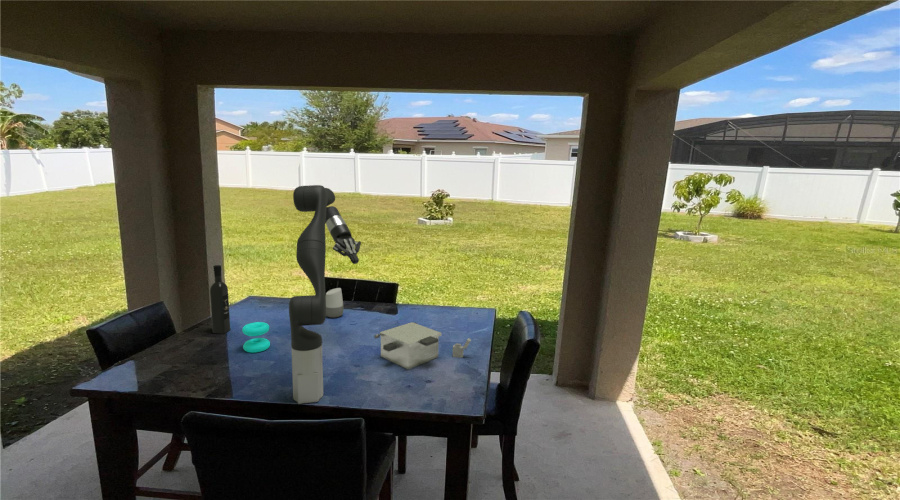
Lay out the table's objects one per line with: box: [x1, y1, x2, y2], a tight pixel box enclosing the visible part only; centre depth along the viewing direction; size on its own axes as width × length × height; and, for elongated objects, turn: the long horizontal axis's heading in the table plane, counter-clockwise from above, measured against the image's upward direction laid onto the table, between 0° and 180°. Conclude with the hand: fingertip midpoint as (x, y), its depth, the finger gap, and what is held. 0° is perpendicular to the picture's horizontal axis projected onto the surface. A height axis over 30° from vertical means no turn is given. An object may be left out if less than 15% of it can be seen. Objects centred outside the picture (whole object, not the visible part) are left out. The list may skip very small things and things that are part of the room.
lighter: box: [452, 337, 472, 359], centre depth 173 cm, size 7×2×8 cm, turn 76°
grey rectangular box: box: [373, 322, 440, 370], centre depth 172 cm, size 17×24×10 cm
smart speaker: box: [325, 287, 344, 319], centre depth 218 cm, size 10×9×14 cm
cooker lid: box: [379, 321, 442, 347], centre depth 169 cm, size 20×17×1 cm
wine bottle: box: [209, 264, 231, 335], centre depth 191 cm, size 6×6×30 cm
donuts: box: [241, 321, 271, 354], centre depth 176 cm, size 10×10×10 cm
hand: (356, 262), depth 174 cm, fingers closed
